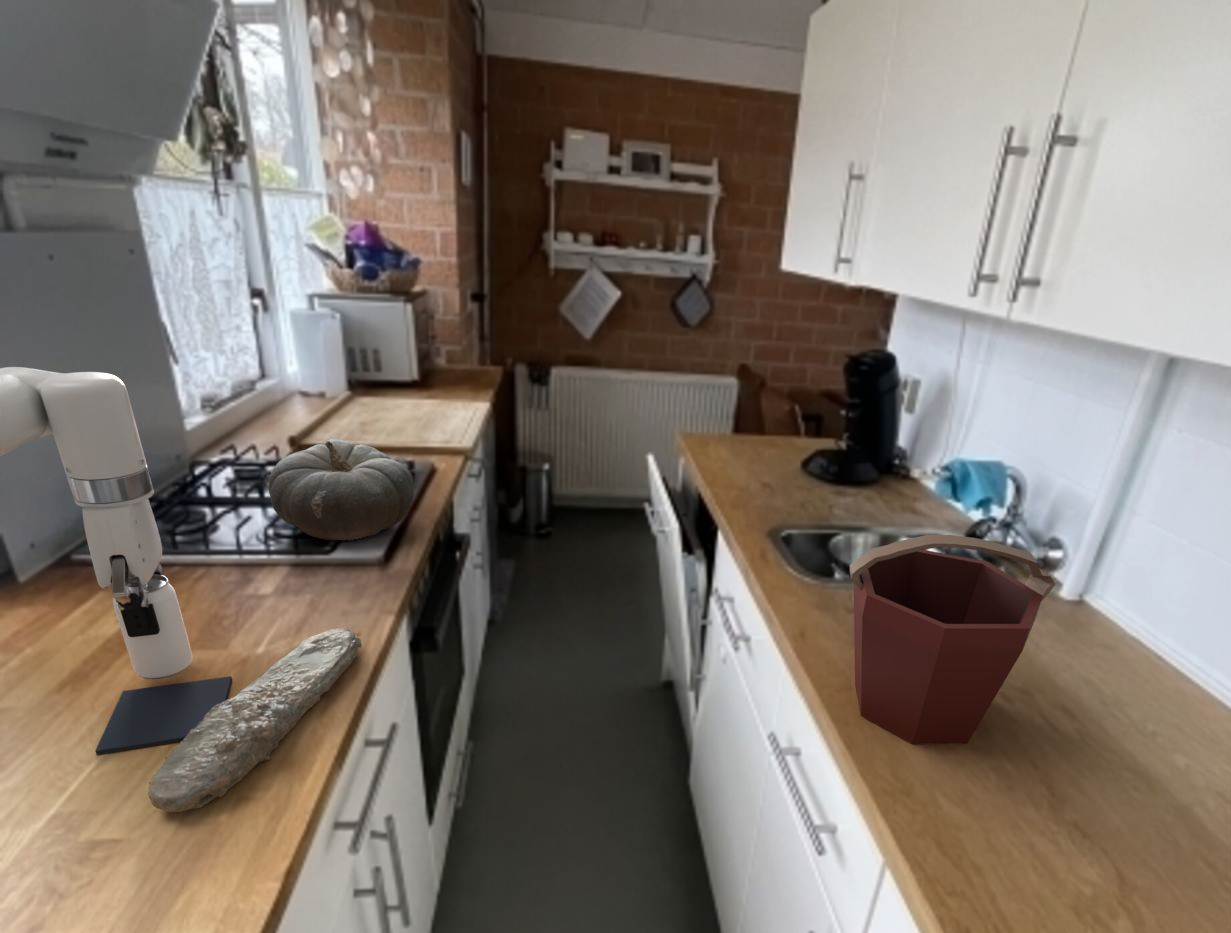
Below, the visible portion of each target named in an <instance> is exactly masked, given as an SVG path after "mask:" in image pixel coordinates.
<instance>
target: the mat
mask: <svg viewBox="0 0 1231 933" xmlns="http://www.w3.org/2000/svg"><path fill="white" fill-rule="evenodd" d="M232 677H233V676H231V675H229V676H222V677H214V678H208V679H207V678H206V679H200V680H193V681H186V682H177V683H170V684H163V685H156V686H149V687H142V688H133V689H128V690H126V689H125V690H122V692H121V694H120V696H119V698H118V700H117V703H116V704H115V707H114V709H113V711H112V713H111V716H110V718H109V720H108V722H107V725H106V726H105V729H104V730H103V733H102V735H101V738H100V740H99V742H98V744H97V746H96V749H95V750H94V751H95V755H96V756H99V755H105V754H111V753H112V754H113V753H119V752H125V751H131V750H137V749H143V748H148V747H156V746H162V745H168V744H174V743H180V742H181V741H182V740H183V739H184V738H185V737H186V736H187V734H189V732H190V730H191V729H194V728H195V727H196V726H197V725H198V724H199V722H201V721H202V720H203V717H204V716H205V715H206V714H207V713H208V712H209V711H210V710H211V708H212V707H214V706H216V705H217V704H220V703H222V702H223V701H225V700H227V699H229V695H230V690H231V686H232V682H233V678H232Z"/></svg>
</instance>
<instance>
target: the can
mask: <svg viewBox="0 0 1231 933" xmlns="http://www.w3.org/2000/svg"><path fill="white" fill-rule="evenodd" d="M138 581H139V578H138V577H129V578H128V582H138ZM146 587H147V594H148V601H149V604H152V603H153V607H154V610H155V614H156V617H157V621H158V624H159V628H160V631H159V633H158V634H156V635H148V636H139V637H129V636H128V634H127V630H126V627H125V624H124V621H123V618H122V614H121V611H120V610H119V607H118V602H116V599H114V598H113V597H112V604H113V609H114V612H115V615H116V619H117V622H118V624H119V628H120V631H121V634H122V638H123V641H124V644H125V647H126V651H127V653H128V656H129V660H130V663H131V666H132V669H133V671H134V674H135V675H137V676H138V677H140V678H143V679H145V680H146V679H147V680H159V679H166V678H170V677H173V676H176V675H178V674H180V673H182V672H184V671H185V670H186V669H188V668H189V667H190V665H191V664H192V662H193V660H194V656H193V652H192V647H191V644H190V640H189V636H188V633H187V629H186V626H185V621H184V618H183V615H182V611H181V608H180V602H179V600H178V596H177V593H176V590H175V587H173V586H172V584H170V582H169V579H168V577H166V576H165V575H163V576H162V575H157V574H153V576H152V577H151V579H150V580H149V581H148V582H147V583H146ZM129 590H130V591H131V593H136V594H137V595H138V596H139V589H138V587H129ZM139 597H140V596H139Z"/></svg>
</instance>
